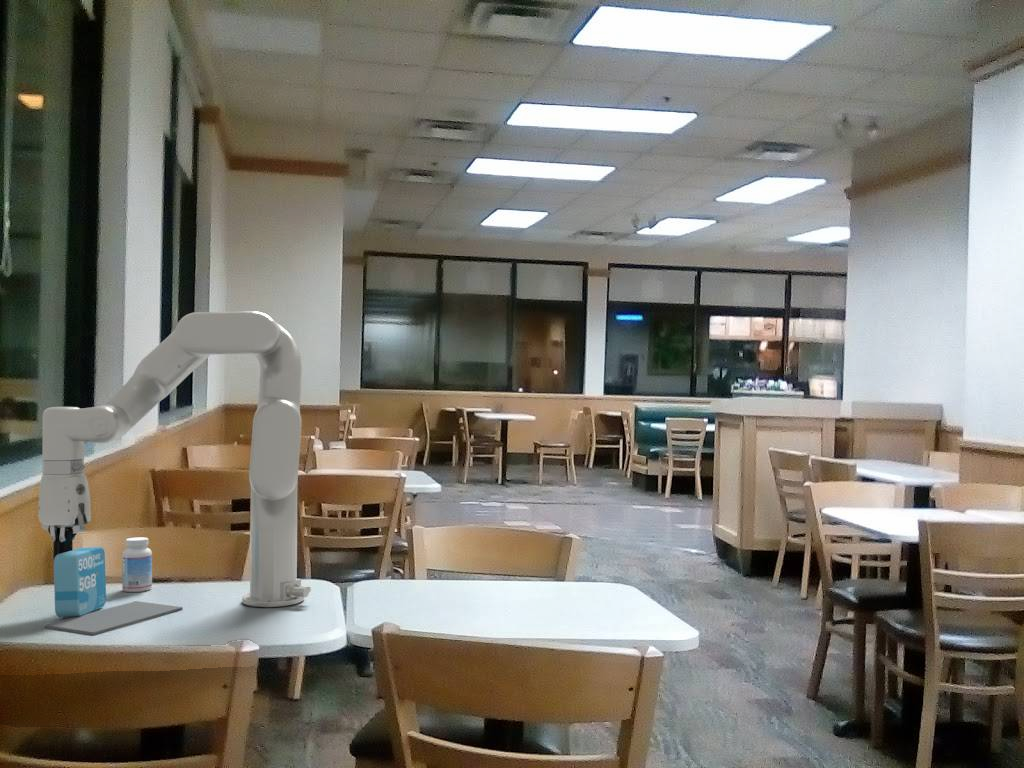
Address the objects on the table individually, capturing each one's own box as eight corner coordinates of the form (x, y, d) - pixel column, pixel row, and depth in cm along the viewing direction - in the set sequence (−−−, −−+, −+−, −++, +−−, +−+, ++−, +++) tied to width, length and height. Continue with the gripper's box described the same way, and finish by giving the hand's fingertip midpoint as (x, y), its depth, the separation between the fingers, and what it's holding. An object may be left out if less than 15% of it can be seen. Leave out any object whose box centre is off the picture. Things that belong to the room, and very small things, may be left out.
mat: (182, 609, 194) (182, 607, 194) (93, 635, 174) (93, 632, 174) (136, 603, 199) (136, 601, 199) (44, 627, 179) (44, 624, 179)
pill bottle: (157, 588, 214) (158, 537, 214) (138, 593, 209) (138, 541, 209) (136, 586, 217) (136, 535, 217) (116, 591, 211) (116, 539, 211)
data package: (77, 617, 185) (75, 554, 185) (54, 618, 185) (52, 555, 185) (106, 605, 197) (105, 546, 197) (85, 606, 197) (83, 546, 197)
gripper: (105, 468, 193) (105, 560, 193) (52, 465, 200) (52, 554, 200) (74, 471, 186) (74, 567, 186) (20, 468, 193) (20, 560, 193)
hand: (62, 560), depth 193 cm, fingers closed
